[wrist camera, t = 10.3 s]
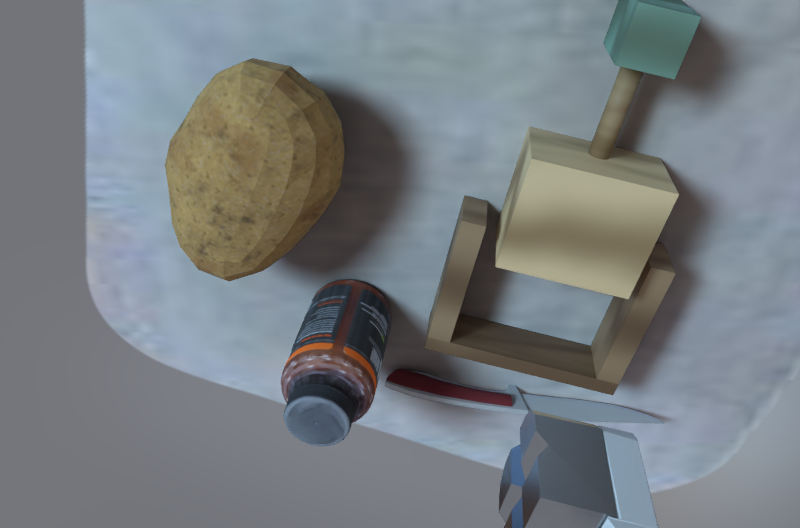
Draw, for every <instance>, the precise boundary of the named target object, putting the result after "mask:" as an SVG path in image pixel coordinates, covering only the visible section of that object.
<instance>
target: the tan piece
mask: <svg viewBox="0 0 800 528" xmlns="http://www.w3.org/2000/svg"><path fill="white" fill-rule="evenodd" d="M487 202H488V201H485V200H481V199H477V198H473V197H469V196H464V199H463V203H462V206H461V210H460V213H459V217H458V220H457V224H456V227H455V231H454V234H453V238H452V241H451V245H450V248H449V251H448V255H447V258H446V262H445V265H444V269H443V272H442V276H441V279H440V283H439V286H438V290H437V293H436V297H435V300H434V304H433V307H432V311H431V314H430V318H429V324H428V330H427V336H426V342H425V348H424V349H428V350H432V351H436V352H440V353H444V354H448V355H453V356H457V357H461V358H465V359H469V360H473V361H477V362H481V363H485V364H489V365H493V366H497V367H501V368H505V369H509V370H513V371H517V372H521V373H525V374H529V375H533V376H537V377H541V378H545V379H550V380H554V381H558V382H562V383H566V384H570V385H574V386H578V387H582V388H586V389H590V390H594V391H598V392H602V393H606V394H610V395H613V394H614V392H615V390H616V388H617V386H618V384H619V383H620V381H621V379H622V377H623V375H624V373H625V371H626V369H627V367H628V365H629V363H630V361H631V359H632V357H633V356H634V354H635V352H636V350H637V348H638V346H639V344H640V342H641V340H642V338H643V336H644V334H645V332H646V330H647V329H648V327H649V325H650V323H651V321H652V319H653V317H654V315H655V313H656V311H657V309H658V307H659V305H660V304H661V302H662V300H663V298H664V296H665V294H666V292H667V290H668V288H669V286H670V284H671V282H672V280H673V278H674V277H675V275H676V272H675V270H674V268H673V265H672V263H671V260H670V258H669V256H668V253H667V251H666V248H665V246H664V244H660V243H655V246H654V248H653V250H652V252H651V254H650V256H649V258H648V260H647V262H646V264H645V266H644V268H643V270H642V273H641V275H640V277H639V279H638V281H637V283H636V285H635V287H634V289H633V291H632V293H631V295H630V297H629V299H625V298H620V297H616V296H614V297H613V299H612V301H611V303H610V306H609V308H608V310H607V312H606V314H605V316H604V318H603V321H602V323H601V325H600V327H599V329H598V331H597V333H596V336H595V338H594V340H593V342H592V344H591V346H588V345H584V344H580V343H576V342H572V341H568V340H564V339H560V338H556V337H552V336H548V335H544V334H540V333H536V332H532V331H528V330H524V329H520V328H515V327H511V326H507V325H503V324H499V323H495V322H491V321H487V320H483V319H479V318H475V317H471V316H467V315H463V314H459V312H460V309H461V305H462V302H463V299H464V296H465V293H466V290H467V287H468V283H469V280H470V277H471V274H472V271H473V268H474V264H475V261H476V258H477V255H478V252H479V249H480V245H481V242H482V239H483V236H484V233H485V230H486V224H487Z"/></svg>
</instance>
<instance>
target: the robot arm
mask: <svg viewBox="0 0 800 528" xmlns="http://www.w3.org/2000/svg"><path fill="white" fill-rule="evenodd" d="M520 443H521V444H520V445H518V446H516V447H514V448H512V449H511V451H510V453H509V456H508V458H507V461H506V464H505V467H504V471H503V475H502V479H501V484H500V493H499V513H500V515H501V516H502V518H503V519H504V521H505V523H506V524H505V526H504V528H659V527H658V523H657V518H656V514H655V510H654V506H653V502H652V498H651V494H650V490H649V485H648V481H647V477H646V473H645V469H644V465H643V461H642V457H641V453H640V448H639V444H638V440H637V438H636V437H635V436H634V434H633V433H629V432H625V431H621V430H616V429H612V428H608V427H603V426H595V425H592V424H588V423H584V422H580V421H576V420H572V419H567V418H563V417H559V416H555V415H551V414H547V413H543V412H538V411H534V410H530V411H529V412H528V414H527V415H526V416H525V419H524V421H523V423H522V425H521V427H520Z"/></svg>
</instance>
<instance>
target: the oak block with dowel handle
mask: <svg viewBox="0 0 800 528" xmlns="http://www.w3.org/2000/svg"><path fill="white" fill-rule="evenodd" d="M700 20H701V16H700V15H699V14H697V13H696V12H695V11H694V10H692V9H691V8H690V7H689V6H688V5H686V4H685V3H684V2H683V1H681V0H619V2H618V4H617V7H616V10H615V13H614V15H613V18H612V21H611V24H610V27H609V29H608V32H607V35H606V38H605V40H604V45H605V47H606V49H607V51H608V53H609V55H610V57H611V59H612V60H613V62H614V64H615V65H616V66H621V67H620V70H619V73H618V75H617V78H616V81H615V83H614V86H613V88H612V91H611V94H610V96H609V99H608V101H607V104H606V107H605V109H604V112H603V114H602V117H601V120H600V122H599V125H598V128H597V130H596V133H595V135H594V138H593V141H587V140H583V139H579V138H575V137H571V136H567V135H563V134H559V133H554V132H550V131H546V130H542V129H538V128H534V127H530V126H529V127H528V130H527V133H526V137H525V140H524V143H523V146H522V149H521V152H520V155H519V158H518V161H517V165H516V168H515V171H514V174H513V177H512V180H511V183H510V186H509V189H508V192H507V196H506V199H505V202H504V205H503V208H502V211H501V214H500V217H499V220H498V224H497V227H496V266H495V267H498V268H502V269H506V270H510V271H514V272H518V273H522V274H526V275H530V276H534V277H539V278H543V279H547V280H551V281H555V282H559V283H563V284H567V285H571V286H575V287H580V288H584V289H588V290H592V291H596V292H600V293H604V294H608V295H612V296H616V297H620V298H625V299H629V297H630V295H631V293H632V291H633V289H634V287H635V285H636V283H637V281H638V279H639V277H640V275H641V273H642V270H643V268H644V266H645V264H646V262H647V260H648V258H649V256H650V254H651V252H652V250H653V248H654V246H655V243H656V241H657V239H658V237H659V235H660V233H661V231H662V229H663V227H664V225H665V223H666V221H667V219H668V217H669V214H670V212H671V210H672V208H673V206H674V204H675V202H676V200H677V198H678V196H679V193H678V191H677V189H676V187H675V185H674V184H673V182H672V180H671V178H670V176H669V174H668V172H667V170H666V168H665V166H664V164H663V162H662V160H661V158H658V157H653V156H649V155H645V154H641V153H637V152H633V151H629V150H625V149H620V148H616V147H614V145H615V142H616V140H617V137H618V135H619V132H620V130H621V127H622V125H623V122H624V120H625V117H626V115H627V112H628V110H629V107H630V105H631V102H632V100H633V97H634V95H635V93H636V90H637V88H638V85H639V83H640V80H641V78H642V75H643V73H644V72H645V73H650V74H654V75H658V76H662V77H666V78H670V79H674V80H675V78H676V75H677V73H678V71H679V68H680V66H681V64H682V61H683V59H684V57H685V54H686V52H687V50H688V48H689V45H690V43H691V41H692V38H693V36H694V34H695V31H696V29H697V27H698V24H699V22H700Z"/></svg>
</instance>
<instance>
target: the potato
mask: <svg viewBox="0 0 800 528" xmlns="http://www.w3.org/2000/svg"><path fill="white" fill-rule="evenodd" d="M344 154H345V148H344V139H343V130H342V122H341V120H340V118H339V117H338V115H337V113H336V111H335V109H334V108H333V106H332V104H331V102H330V101H329V99H328V97H327V95H326V93H325V92H324V90H322V89H320V88H319V87H317V86H316V85H314V84H312V83H311V82H309V81H308V80H307V79H306V78H304V77H303V76H302V75H301V74H300V73H298V72H297V71H296V70H295V69H294V68H292V67H291V66H287V65H282V64H277V63H272V62H268V61H263V60H258V59H254V58H252V59H250V60H247V61H244V62H242V63H239V64H237V65H235V66H232V67H230V68H228V69H225V70H223V71H221V72H219V73H217V74H216V75H215V76H214V77H213V79H212V80H211V81H210V82H209V83H208V85H207V86H206V87H205V88H204V89H203V91H202V92H201V93H200V94H199V95H198V97H197V99H196V100H195V102H194V104H193V105H192V107H191V109H190V111H189V112H188V114H187V116H186V118H185V119H184V121H183V123H182V124H181V125H180V127H179V128H178V130H177V131H176V133H175V134H174V136H173V137H172V139H171V140H170V145H169V149H168V154H167V158H166V163H165V168H166V175H167V181H168V188H169V196H170V206H171V215H172V224H173V227H174V230H175V233H176V236H177V239H178V242H179V245H180V247H181V248H182V249H183V251H184V252H185V253H186V254H187V256H188V257H189V258H190V259H191V261H192V262H193V263H194V265H195V266H196V267H197V268H198V269H199V270H201V271H204V272H206V273H209V274H211V275H214V276H217V277H219V278H222V279H224V280H227V281H232V280H235V279H238V278H242V277H245V276H248V275H251V274H254V273H257V272H261V271H263V270H265V269H266V268H268V267H269V266H271V265H272V264H273V263H275V262H276V261H277V260H279V259H280V258H281V257H282V256H284V255H285V254H286V253H288V252H289V251H290V250H292V249H293V248H294V247H295V246H296V245H297V244H298V243H299V241H300V240H301V239H302V238H303V237H304V236H305V235H306V234H307V233H308V232H309V231H310V229H311V228H312V227H313V226H314V225H315V224H316V222H317V221H318V220H319V218H320V217H321V216H322V214H323V213H324V212H325V210H326V209H327V207H328V206H329V204H330V202H331V201H332V199H333V198H334V196H335V194H336V193H337V191H338V190H339V188H340V184H341V177H342V170H343V162H344Z"/></svg>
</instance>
